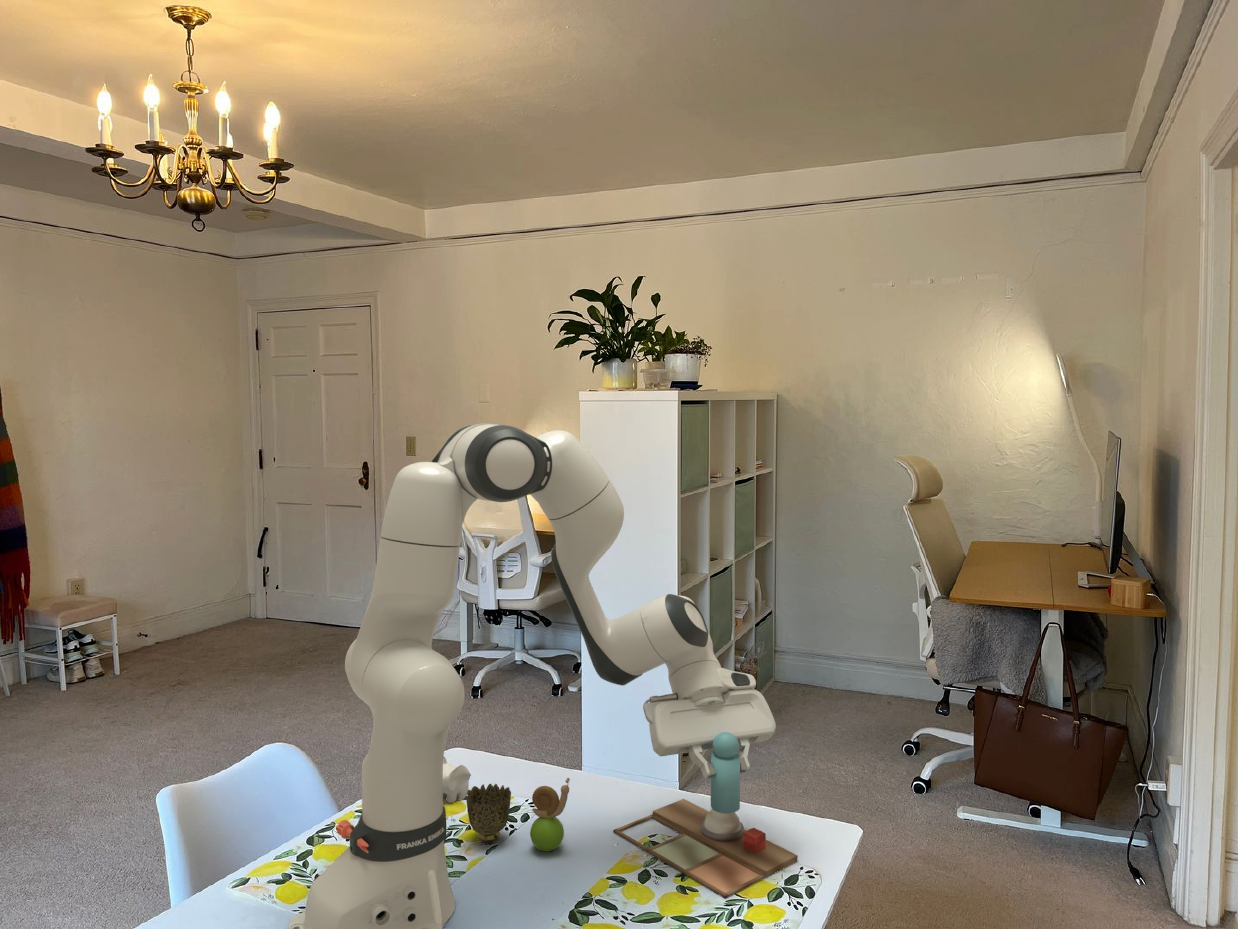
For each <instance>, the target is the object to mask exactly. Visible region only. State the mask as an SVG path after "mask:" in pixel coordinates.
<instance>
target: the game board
mask: <svg viewBox="0 0 1238 929" xmlns="http://www.w3.org/2000/svg"><path fill="white" fill-rule="evenodd" d="M651 820H654V821H656V822H658V823H660V824H661V825H663V826H664V827H667V828H669V829H671V830H673V831H674V832H677V834H679V835H677V836H675V837H672V838H669V839H667V840H664V841H663V842H660V843H657V844H656V845H655V844H654V845H653V846H650V847H648V846H646V845H644V844H642V843H641V842H639V841H637V840H636V839H634V838H632V837H631V836H629V835H628V834H626V833H624V832H623V831H625V830H628V829H630V828H633V827H634V826H635V827H636V826H637V825H640V824H642V823H645V822H648V821H651ZM612 833H613V834H615V835H617V836H619V837H621V838H622V839H623V840H625V841H627V842H629V843H630V844H632V845H634V846H636V847H637V848H639V849H641V850H642V851H644V852H646V853H647V854H650V855H651V856H653V857H654V858H656V859H658V860H659V861H661V862H663V863H664V864H666V865H668V866H669V867H671V868H673V869H674V870H676V871H678V872H680V873H682V874H683V875H684V876H686V877H687V878H690V879H691V880H693V881H694V882H696V883H698V884H700V885H701V886H703V887H705V888H707V889H708V890H710V891H711V892H713V893H715V894H717V895H718V896H720V897H722V898H723V899H729V898H730V897H732V896H733V895H735V894H737V893H739V892H742V891H743V890H745V889H747V888H749V887H750V886H753V885H755V884H757V883H759V882H761V881H762V880H764V878H765V879H766V877H767V878H769V877H770V876H772V875H774V874H776V873H778V872H780V871H783V870H784V869H786V868H788V867H789V866H788V865H790V866H791V865H793V863H794V864H795V863H797V862H798V860H799V859H798V854H796V853H794V852H791V851H790V850H787V849H786V848H783V846H780V845H777V844H776V843H774V842H771V841H770V840H768V839H766V838H767V837H766V836H767V834H766V832H764V831H762V830H760V829H757V828H756V827H752V828H749V829H748V830H747V829H745V826H744V824H743V823H742V822H741V820H740V818H739V816H738V814H737V812H734V813H720V812H716V811H714V810H713V809H712V808H711V810H710V811H709V810H707V809H705V808H703V807H701V806H699V805H697V804H695V803H693V802H691V801H689V800H687V799H685V798H682V799H680V800H676V801H674V802H672V803H669V804H667V805H664V806H662V807H659V808H657V809H654V810H652V814H650V815H648V816H644V817H642V818H639V819H637V820H635V821H631V822H630V823H627V824H625V825H622V826H620V827H617V828H615V829H612ZM787 866H788V867H787ZM785 867H786V868H785ZM783 868H784V869H783ZM777 871H778V872H777ZM775 872H776V873H775Z"/></svg>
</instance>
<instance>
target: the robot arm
mask: <svg viewBox="0 0 1238 929" xmlns="http://www.w3.org/2000/svg"><path fill="white" fill-rule="evenodd" d="M617 491H618V490H616V487H615V486H614V484H613V483H612V482H611V480H610V478H609V477H608V475H607V474H606V472H605V471H604V469H603V468H602V467H601V465H600V464H599V462H598V460H596V459H595V457H594V456H593V454H592V453H591V452H590V451H589V450H588V448H587V447H585V446H584V444H583V443H582V442H581V441H580V440H579V439H578V438H577V437H576V436H575V435H574V434H573V433H571V432H569V431H567V430H564V429H563V430H562V429H555V430H551V431H547V432H544V433H542V434H540V435H538V436H533V435H531V434H529V433H528V432H526V431H524V430H522V429H521V428H518V427H514V426H511V425H506V424H499V423H493V422H484V423H482V422H481V423H477V424H471V425H466V426H463V427H461V428H459V429H458V430H456V431H455V432H454V433H453V434H452V435H451V436H450V437H449V438H448V439H447V440H446V441H445V443H444V444H443V446H442V447H441V448H440V449H439V451H438V453H436V455H435V457H434V458H433V459H432V460H431V461H418V462H414V463H411V464H407V465H406V466H404V467H403V468H402V469H400V470H399V472H398V473H397V474H396V476H395V478H394V481H393V484H392V486H391V489H390V492H389V496H388V499H387V503H386V507H385V511H384V515H383V520H382V524H381V530H380V537H379V545H378V551H377V556H376V557H377V558H376V564H375V565H376V566H375V572H374V578H373V585H372V590H371V594H370V598H369V601H368V604H367V608H366V610H365V613H364V616H363V619H362V622H361V624H360V628H359V631H358V633H357V637H356V638H355V639H354V641H353V642H352V643H351V644H350V646H349V648H348V650H347V652H346V654H345V659H344V671H345V674H346V678H347V680H348V682H349V685H350V688H351V690H352V691H353V693H354V694H355V695H356V696H357V697H358V698H359V699H360V700H361V701H363V703H364V704H366V705H367V706H368V707H369V708H370V711H371V715H372V720H373V722H372V723H373V724H372V725H373V726H372V727H373V728H372V734H371V739H370V740H371V741H370V745H369V747H368V752H367V754H366V755H365V757H364V758H363V761H362V763H361V803H362V806H361V807H362V808H361V810H362V811H361V812H362V813H361V815H360V817H359V819H358V821H357V824H356V825H353V824H351V822H350V821H349V820H347V819H344V820H340V821H339V822H338V823H337V825H336V829H335V830H336V833H337V834H338V835H339V836H341V838H342V839H344V840H348V839H349V846H348V847H347V848H346V849H345V850H344V851H343V852H342V853H341V854H340V855H339V856H338V857H337V858H336V859H335V860H334V861H333V862H332V863H331V864H330V865H329V866H328V867H327V868H326V869H325V870H324V871H322V872H321V874H320V875H319V876H318V877H316V878H315V879H314V881H313V882H312V883H311V885H310V887H309V890H308V894H307V897H306V898H307V899H306V902H305V910H304V911H302V912H300V913H299V914H296V915H295V916H293V917H292V918H291V919H290V920H289V924H288V927H287V928H288V929H444V926H445V925H446V924H447V922H448V921H449V919H450V918H451V917H452V915H453V914H454V911H455V909H456V903H457V902H456V899H455V896H454V893H453V889H452V885H451V882H450V878H449V871H448V866H447V858H446V848H445V844H446V843H447V842H446V841H447V811H446V809H447V808H446V807H445V805H444V799H443V798H444V797H443V757H445V756H444V755H445V750H446V749H445V748H446V744H447V739H448V734H449V732H450V727H451V726H452V724H453V723H454V722H455V721H456V720H457V718H458V717H459V715H460V713H461V711H462V709H463V706H464V701H465V696H466V695H465V687H464V686H465V685H464V683H463V680H462V678H461V677H460V675H459V673H458V672H457V670H456V668H454V665H453V664H452V663H451V662H450V660H449V659H448V658H446V656H445V655H442V654H440V652H438V651H435V649H433V647H432V646H433V645H432V644H433V637H434V635H435V634H434V633H435V631H436V628H437V626H438V624H439V621H440V618H441V616H442V614H443V613H444V612H445V609H447V608H448V607H449V605H451V603H452V601H453V598H454V593H455V592H454V591H455V585H456V581H457V580H456V579H457V572H458V565H459V564H458V563H459V558H460V550H461V543H462V534H463V532H462V531H463V523H464V522H465V518H466V515H467V513H468V511H469V509H470V508H471V506H472V505H473V504H474V503H475V502H477V500H480V501H481V500H482V501H486V502H487V501H488V502H496V503H507V502H508V503H509V502H513V501H516V500H520V499H522V498H524V497H527V496H531V497H532V498H533V499H534V500H535V501H536V502H537V503H538V505H539V507H540V508H541V510H542V512H543V513H544V515H545V516H546V518H547V519H548V521H549V522H550V525H551V527H552V529H553V533H554V536H555V537H554V538H555V544H554V545H553V547H552V548H551V550H550V551H551V552H550V555H551V562H552V568H553V571H554V573H555V577H556V579H557V581H558V583H559V586H560V588H561V591H562V593H563V595H564V597H565V600H566V603H567V605H568V607H569V609H570V611H571V613H572V616H573V617H574V620H575V622H576V625H577V626H578V628H579V631H580V633H581V636H582V638H583V640H584V643H585V646H586V648H587V652H588V655H589V658H590V660H591V664H592V666H593V669H594V670H595V673H596V674H597V675H598V677H599V678H600V679H602V680H604V681H606V682H609V683H610V684H615V685H617V686H626V685H627V684H629V683H630V682H632V681H634V680H636V679H638V678H639V677H641V676H642V675H643V674H645V673H647V672H649V671H652V670H654V669H656V668H658V667H661V666H662V665H664V664H665V666H666V667H667V672H668V673H667V674H668V682H669V686H670V689H671V692H672V693H668V694H662V695H651V696H650V697H649V699H646V700H645V701H644V703H643V707H642V708H643V713H644V717H645V720H646V721H647V723H648V724H649V725H648V727H649V733H650V734H649V735H650V740H651V745H652V746H651V747H652V750H653V752H654V753H655V754H657V755H658V756H659V757H667V756H674V755H680V754H687V753H688V756H689V758H690V760H691V761H692V762H693V763H694V764H695V765H696V766H697V767H698V768H699V769H700V771H701V774H702V777H703V779H711V777H714V775H715V774H716V771H715V769H714V765H713V762H711V761H710V762H709V761H707V759H705V758H704V756H703V755H702V753H703V751H708V750H713V740H714V738H715V737H716V736H717V735H718V734H719V733H722V732H729V733H731V734H733V735H734V736H735V737H736V738H737V740H738V742H739V750H738V753H739V752H740V753H739V754H740V774H741V773H742V774H743V773H747V772H749V771H750V769H751V765H750V762H749V759H748V756H749V750H750V745H751V744H755V743H760V742H761V743H764V742H767V741H769V740H770V739H771V738H772V737H773V735H774V734H775V732H776V728H777V723H776V720H775V717H774V716H773V713H772V711H771V708H770V706H769V704H768V702H767V700H766V698H765V696H764V695H763V694H762V693H761V692H760V691H758V690H757V689H755V688H756V685H757V681H756V679H755V677H754V676H753V675H752V674H750V673H745V672H739V671H734V670H730V669H727V668H724V667H722V665H721V663H720V661H719V660H718V658H717V657H716V656H715V653H714V644H713V640H712V638H711V634H710V631H709V630H708V627H707V624H706V621H705V619H704V616H703V614H702V612H701V610H700V609H699V608H698V606H697V605H696V604H695V601H693V600H692V599H691V598H690V597H688V596H684V595H676V594H672V593H668V594H665V595H663V596H660V597H658V598H657V597H656V598H655V599H654V600H652V601H649V602H647V603H645V604H643V605H641V606H640V607H638V608H637V609H635V610H634V609H633V610H632V611H630V612H628V613H626V614H624V615H622V616H620V617H618V618H615V619H614V618H613V619H611V618H608V617H607V616H606V615H605V613H604V610H603V608H602V606H601V603H600V601H599V599H598V596H597V595H596V592H595V590H594V587H593V585H592V583H591V580H590V573H591V571H592V570H593V568H594V567H595V565H596V564H598V562H599V561H600V559H602V557H604V555H605V554H606V553H607V552H608V551H609V549H610V548H611V547H612V545H613V544H614V543H615V541H616V540H617V538H618V536H619V535H620V532H621V530H622V527H623V524H624V518H625V509H624V504H623V502H622V499H621V497H620V495H619V493H618V492H617Z"/></svg>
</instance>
